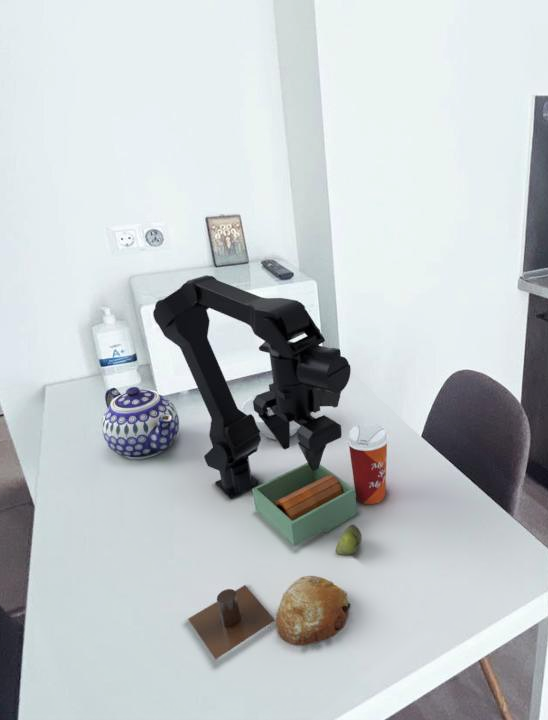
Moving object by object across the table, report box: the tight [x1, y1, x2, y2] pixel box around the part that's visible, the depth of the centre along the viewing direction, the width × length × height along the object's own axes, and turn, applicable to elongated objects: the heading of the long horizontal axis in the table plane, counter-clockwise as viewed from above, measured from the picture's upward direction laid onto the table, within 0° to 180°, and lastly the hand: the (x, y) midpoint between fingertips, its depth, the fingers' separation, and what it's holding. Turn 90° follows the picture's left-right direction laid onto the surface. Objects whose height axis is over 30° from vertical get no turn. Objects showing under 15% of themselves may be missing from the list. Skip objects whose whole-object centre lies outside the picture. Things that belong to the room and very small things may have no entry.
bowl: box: [241, 391, 300, 440], centre depth 125 cm, size 16×16×7 cm
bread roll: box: [275, 575, 351, 646], centre depth 78 cm, size 10×10×8 cm
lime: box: [335, 523, 363, 556], centre depth 90 cm, size 4×5×5 cm
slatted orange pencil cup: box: [274, 474, 343, 521], centre depth 98 cm, size 5×5×11 cm
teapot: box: [101, 386, 180, 460], centre depth 118 cm, size 25×15×15 cm, turn 53°
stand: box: [187, 584, 276, 661], centre depth 77 cm, size 9×9×6 cm
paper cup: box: [346, 423, 390, 505], centre depth 102 cm, size 8×8×14 cm
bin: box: [251, 462, 358, 547], centre depth 99 cm, size 13×13×6 cm
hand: (300, 458), depth 95 cm, fingers open, 9 cm apart
